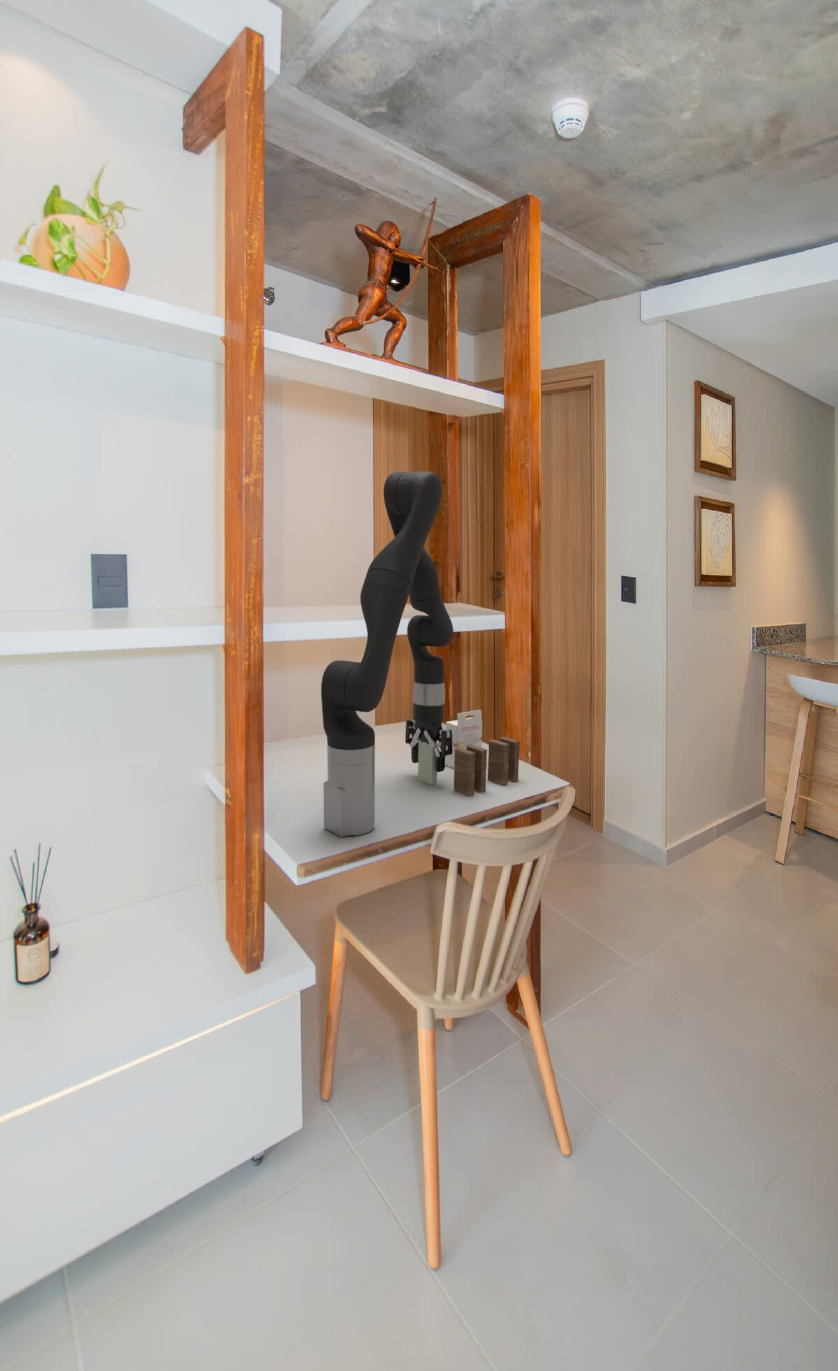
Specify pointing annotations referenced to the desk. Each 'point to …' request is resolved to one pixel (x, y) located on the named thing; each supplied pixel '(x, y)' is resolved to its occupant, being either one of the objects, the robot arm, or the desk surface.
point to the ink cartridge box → (464, 733)
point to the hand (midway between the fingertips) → (427, 766)
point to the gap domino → (426, 763)
